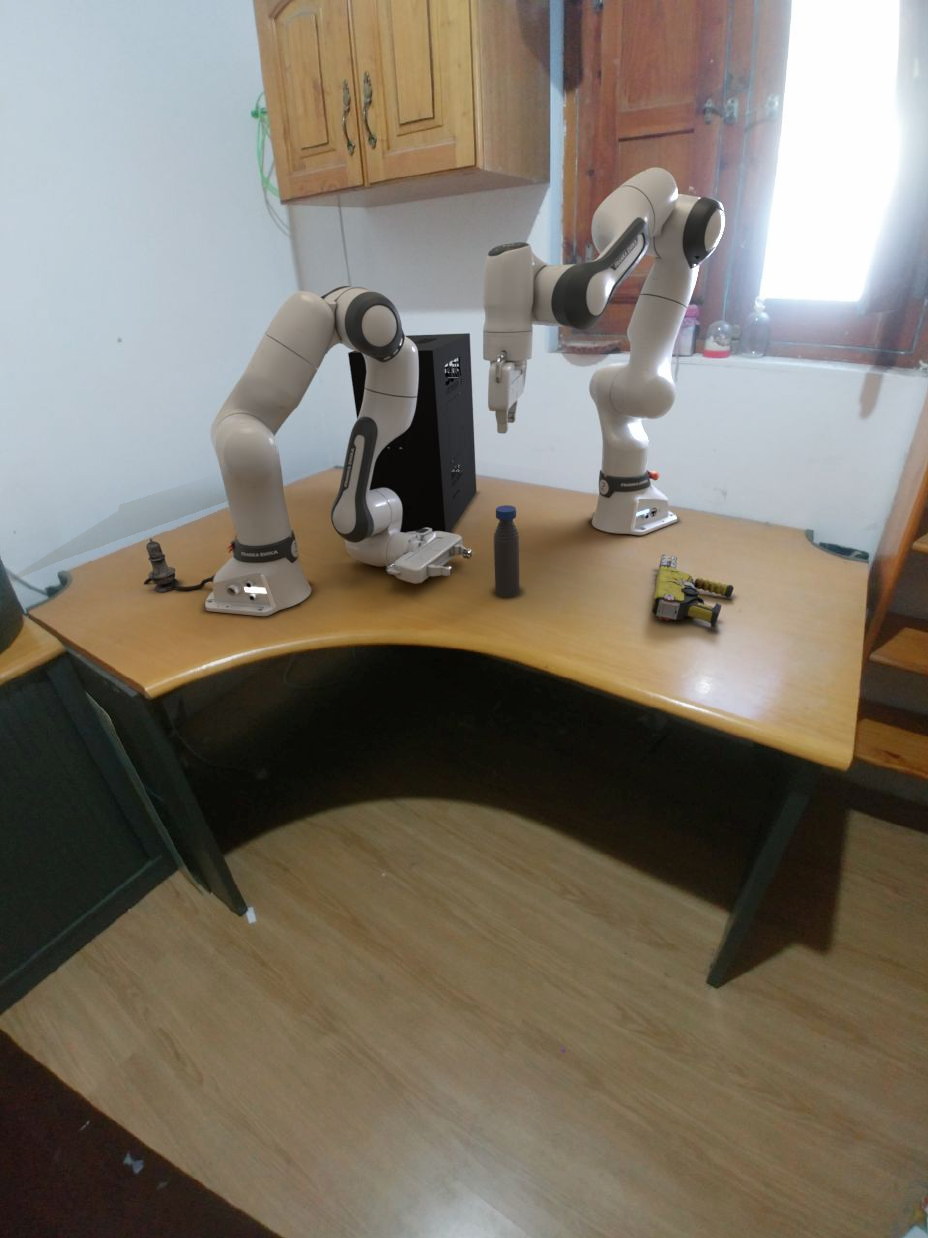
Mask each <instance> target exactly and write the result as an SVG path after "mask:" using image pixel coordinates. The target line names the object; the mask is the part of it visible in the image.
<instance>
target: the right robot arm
mask: <svg viewBox="0 0 928 1238" xmlns="http://www.w3.org/2000/svg"><path fill="white" fill-rule="evenodd" d="M591 219H592V220H591V230H590V231H591V238H592V243H593V245H594V247H595V249H596V250H597V252H598V254H599V255H598V256H597V258H595V259H594V260H592V261H588V262H587V261H586V262H581V263H579V262H578V263H573V264H572V263H571V264H570V263H569V264H554V265H553V264H549V263H547V262H545V261H544V260H542V259H540V258H539V257H538V256H537V255H536V254H535V253H534V252H533V251H532V246H531V244H530V243H527V242H523V241H520V242H519V241H518V242H512V243H504V244H501V245H497V246H495V247H493V248H492V249H490V250H489V251H488V252H487V254H486V257H485V259H484V266H483V273H482V274H483V275H482V307H483V310H484V323H483V327H482V350H483V351H482V358H483V360H485V361H488V362H489V370H488V385H487V386H488V388H487V407H488V411H490V412H494V413H495V414H494V415H495V421H496V432H497V434H503V435H504V434H506V433H507V432H508V431H509V424H513V423H515V422H516V419H517V408H518V401H519V398H520V397H521V396H522V395H523V394H524V391H525V384H526V378H527V369H528V367H527V366H528V361H529V360H531V359H533V330H534V329H533V326H534V325H535V326H547V327H563V328H567V329H573V330H580V331H583V330H588V329H590V328H592V327H593V326H595V325H596V324H597V322H598V321H599V320H600V319H601V317H602V316H603V315H604V313H605V311H606V310H607V308H608V306H609V303H610V301H611V299H612V298H613V296H614V294H616V292H617V291H618V289H619V288H620V287H621V285H622V284H623V283H624V282H625V281H626V280H627V278H628V277H629V276H630V275H631V273H632V272H633V271H634V270H635V268H636V267H637V266H638V264H640V262H641V260H642V259H643V257H644V256H649V257H654V262H653V264H652V266H651V268H650V270H649V271H648V275H647V276H646V279H645V281H644V283H643V286H642V288H641V291H640V293H639V295H638V299H637V301H636V304H635V307H634V309H633V313H632V315H631V318H630V321H629V324H628V326H627V331H626V335H627V339H628V340H629V344H630V351H629V352H630V353H629V360H628V364H627V363H623V362H615V363H607V364H605V365H602V366H600V367H598V368H597V369H596V370H595V371H594V373H593V374H592V376H591V377H590V381H589V384H588V385H589V386H588V389H589V390H588V391H589V395H590V397H591V399H592V401H593V403H594V405H595V407H596V410H597V414H598V420H599V425H600V430H601V438H602V447H601V448H602V449H601V450H602V451H601V452H602V453H601V468H600V470H599V474H598V492H599V493H598V498H597V502H596V507H595V511H594V514H593V517H592V520H591V525H592V526H593V527H594V528H595V529H597V530H599V531H601V532H605V533H611V534H623V535H625V534H626V535H632V536H633V535H634V536H645V535H646V534H650V533H652V532H654V531H657V530H660V529H662V528H665V527H668V526H670V525H672V524H675V523H677V522H678V516H677V515H676V514H675V513H674V512H672V511H670V503H669V502H670V501H669V498H668V497H667V495H665V494H664V493H663V492H661V491H660V490H659V489H658V488H656V487H655V486H654V485H652V483H651V480H653V481H658V479H659V478H660V473H659V472H657V471H654V470H651V471H649V470H648V469H647V466H648V458H649V457H648V456H649V447H650V441H649V437H648V435H647V433H646V431H645V429H644V427H643V424H642V420H656V419H660V418H662V417H664V416H665V415H667V414H668V413H669V412H670V410H671V409H672V408H673V406H674V403H675V400H676V397H677V396H676V395H677V388H676V384H675V382H674V380H673V375H672V359H673V354H674V353H673V352H674V347H675V343H676V341H677V337H678V335H679V331H680V329H681V326H682V323H683V321H684V318H685V315H686V312H687V310H688V307H689V305H690V302H691V299H692V296H693V292H694V290H695V286H696V282H697V278H698V272H699V268H700V266H701V265H702V264H703V262H704V261H705V260H706V259H708V258H709V257H710V256H711V254H713V252H714V251H715V250H716V249H717V247H718V245H719V243H720V242H721V240H722V237H723V234H724V231H725V226H726V213H725V209H724V206H723V204H722V202H720V201H719V200H717V199H715V198H712V197H708V196H702V197H700V196H695V195H690V194H683V193H678V185H677V182H676V180H675V178H674V177H673V175H672V174H671V173H670V172H669V171H668V170H666V169H664V168H662V167H649V168H647V169H646V170H643V171H641V172H639V173H637V174H635V175H634V176H632V177H631V178H629V179H627V180H626V181H625V182H623V183H622V184H620V186H618V187H617V188H616V189H614V190H613V191H612V192H611V193H610V194H609V195H608V196H607V197H606V198H605V199H604V200H602V202H601V203H600V204H599V206H598V207H597V209H595V212H594V214H593V216H592V218H591Z"/></svg>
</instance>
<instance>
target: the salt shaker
mask: <svg viewBox="0 0 928 1238" xmlns="http://www.w3.org/2000/svg"><path fill="white" fill-rule="evenodd" d="M145 549H146V551H147V554H148V558H147V560H148V561H149V562H150V564H151V567H152V571H150V572H149V573H148V574H147V576H148V578H151V580H152V581H151V582H152V583H153V584H155V586H154V587H153V590H154V592H159V593H163V592H169V591H172V590H174V589H175V588H174V581H173V580H174V578H175V579H176V571H177V570H176V568H175V567H172V566H168V565H169V564H167V561H166V554H164V552H163V550H162V547H161V544H160V543H159V542H158V541H154V540H153V539H152V538H149V542H148V543H146V545H145ZM178 586H180V585H179V582H178Z"/></svg>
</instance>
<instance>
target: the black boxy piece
mask: <svg viewBox="0 0 928 1238" xmlns="http://www.w3.org/2000/svg"><path fill="white" fill-rule="evenodd" d="M405 336H406V337H407V338H409V339H410V340H411V341H413V342H414V344H415V345H416V347H417V350H418V359H419V381H418V393H417V402H416V409H415V413H414V417H413V420H412V422H411V425H410V427H409V428H408V429H407V430H406V431H405V432H404V433H403V434H401V435H400V436H398V437H397V438H395V439H394V440H393V441H391V442H390V443H389V444H388V445H387V446H386V447H385V448H384V449H383V450H382V451H381V452H380V454H379V455H378V457H377V459H376V462H375V465H374V470H373V475H372V480H371V485H370V489H369V490H374V489H378V488H389V489H391V490H392V491H394V492H395V493H396V494H397V495H398V497H399V498H400V500H401V502H402V506H403V518H402V526H401V531H400V532H403V533H406V532H412V531H417V530H420V529H423V528H431V529H432V532H434V531H443V532H448V533H452V530H453V529H454V528H455V526H456V524H457V523H458V521H459V520H460V518H461V517H462V515H463V514H464V512H465V511H466V509H467V507H468V506H469V505H470V503H471V502H472V500H473V498H474V497H475V495H476V494H477V471H476V470H477V469H476V448H475V446H476V445H475V426H474V424H475V423H474V422H475V421H474V401H473V377H472V355H471V352H472V351H471V334H470V333H469V332H467V333H440V334H439V333H437V334H413V335H412V334H410V335H405ZM347 357H348V362H349V370H350V377H351V378H350V379H351V385H352V392H353V399H354V407H355V415H356V420H357V419H358V416H359V413H360V410H361V406H362V402H363V397H364V389H365V380H366V373H367V371H366V363H365V359H364V356H363V354H362V353H361V352H357V351H354V350H351V351H348V352H347ZM450 364H451V365H450Z"/></svg>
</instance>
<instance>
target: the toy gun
mask: <svg viewBox="0 0 928 1238" xmlns="http://www.w3.org/2000/svg"><path fill="white" fill-rule="evenodd" d="M669 559H670V560H669ZM677 562H678V557H677V556H676V555H672V554H671V557H669V554H668V553H667V554H666V553H664V554H661V557H660V562H659V565H658V570H657V575H656V578H655V583H654V584H655V585H654V591H653V597H652V604H651V609H650V610H651V614H652V615H653V616H654V617H655V616H656V617H659V619H660V620H661V621H663V620H665V621H669V620H675V621H678V620H683V619H684V618H686V617H689V618H695V619H699V620H701V621H703V622H707V623H710V628H715V627H716V624H717V622H718V619H719V616H720V613H721V610H722V604H719V603H718V602H716V603H715V604H714V606H711V605H707V604H706V603H705V600H704V599H703V598H701V597H700V593H699V590H702V591H704V592H707V591H708V593H714V594H716V595H721V596H722V597H726V598H731V597H732V594H733V591H734V586H733V584H726V583H725V584H723V583H722V582H716V580H712V581H711V580H709V579H707V578H706V579H703V578H702V577H697V578H696V579H693V576H692V575H691V574H690V573H687V572H683V571H680V570H678V569H677Z"/></svg>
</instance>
